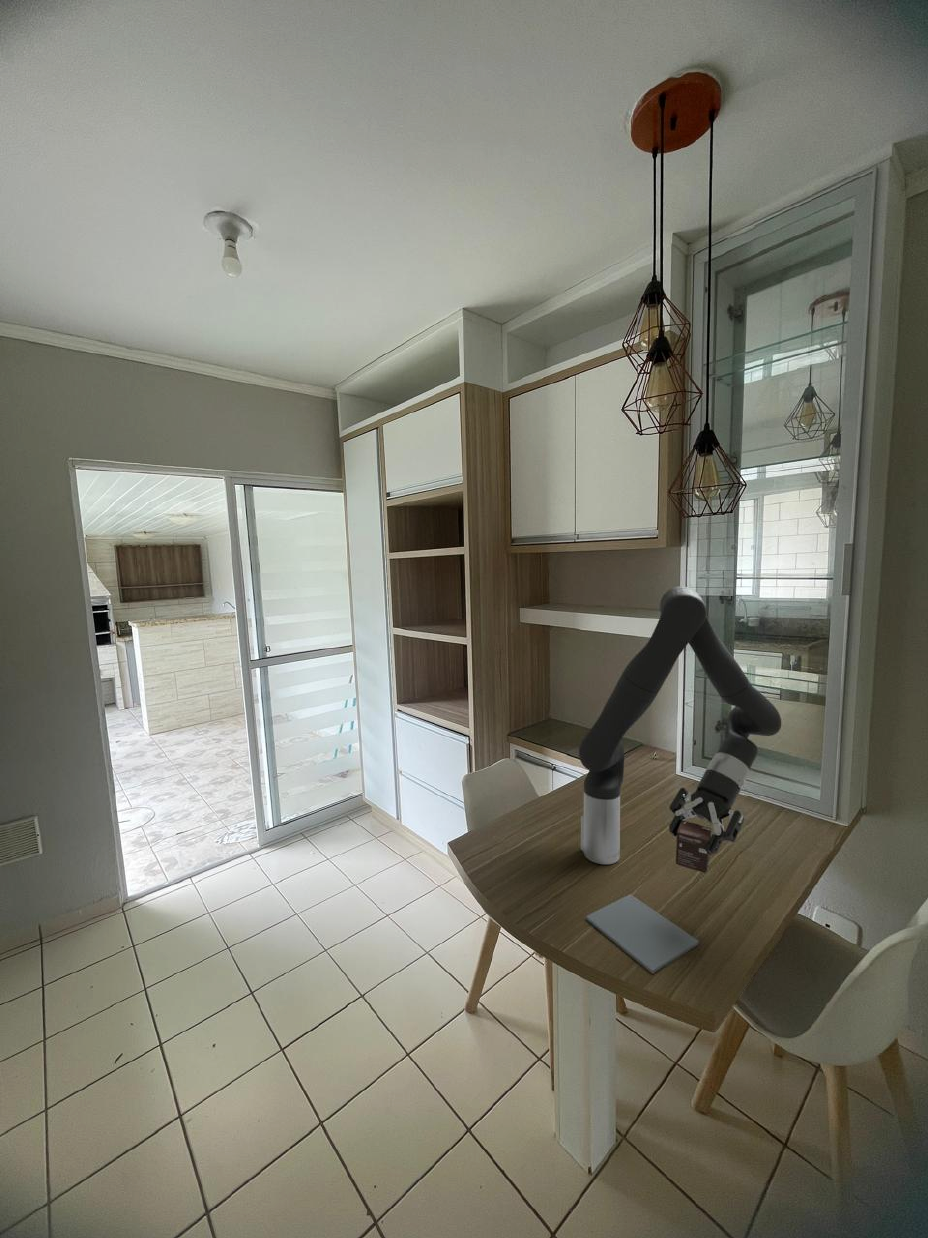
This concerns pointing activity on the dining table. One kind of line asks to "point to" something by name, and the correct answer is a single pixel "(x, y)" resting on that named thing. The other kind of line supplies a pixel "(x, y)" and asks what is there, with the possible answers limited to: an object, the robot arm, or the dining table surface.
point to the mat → (642, 932)
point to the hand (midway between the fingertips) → (689, 843)
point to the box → (693, 846)
